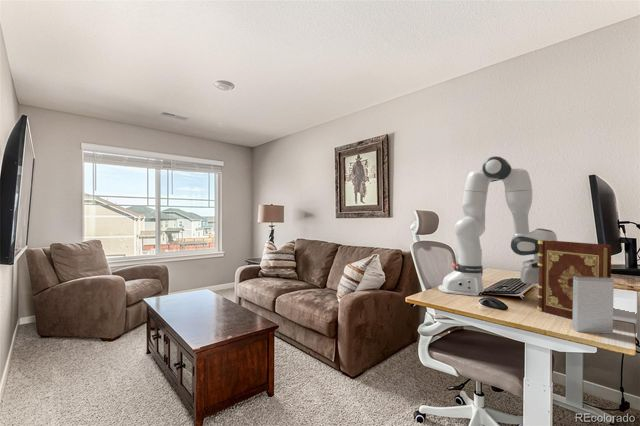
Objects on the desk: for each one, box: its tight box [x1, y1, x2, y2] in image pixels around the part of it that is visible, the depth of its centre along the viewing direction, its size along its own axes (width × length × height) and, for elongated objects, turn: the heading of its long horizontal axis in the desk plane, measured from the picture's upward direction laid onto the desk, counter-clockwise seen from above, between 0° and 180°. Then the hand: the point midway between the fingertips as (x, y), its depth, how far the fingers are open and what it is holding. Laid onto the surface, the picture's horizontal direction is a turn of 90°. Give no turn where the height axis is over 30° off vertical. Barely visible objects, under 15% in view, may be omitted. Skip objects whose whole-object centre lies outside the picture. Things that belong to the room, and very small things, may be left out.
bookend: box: [571, 276, 615, 335], centre depth 106 cm, size 11×2×19 cm, turn 81°
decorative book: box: [536, 240, 612, 320], centre depth 122 cm, size 22×8×30 cm, turn 29°
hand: (545, 293), depth 139 cm, fingers closed
